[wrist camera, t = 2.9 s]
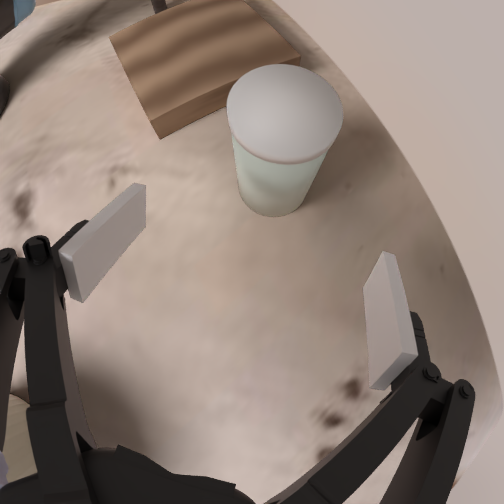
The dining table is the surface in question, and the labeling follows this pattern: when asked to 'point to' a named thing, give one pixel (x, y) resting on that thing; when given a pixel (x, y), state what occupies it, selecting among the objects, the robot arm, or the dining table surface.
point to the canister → (18, 441)
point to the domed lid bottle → (281, 134)
